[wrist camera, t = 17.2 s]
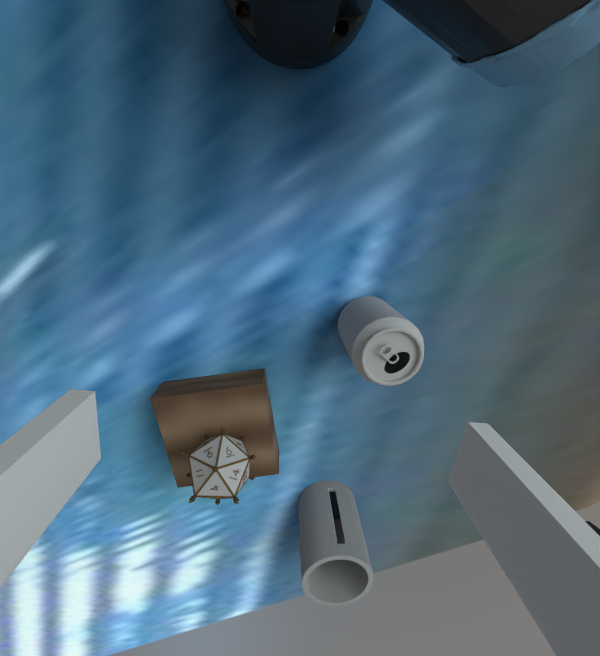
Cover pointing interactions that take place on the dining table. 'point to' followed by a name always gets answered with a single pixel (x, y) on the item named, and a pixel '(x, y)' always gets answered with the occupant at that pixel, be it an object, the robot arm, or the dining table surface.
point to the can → (380, 341)
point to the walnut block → (217, 418)
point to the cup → (332, 546)
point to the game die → (219, 467)
